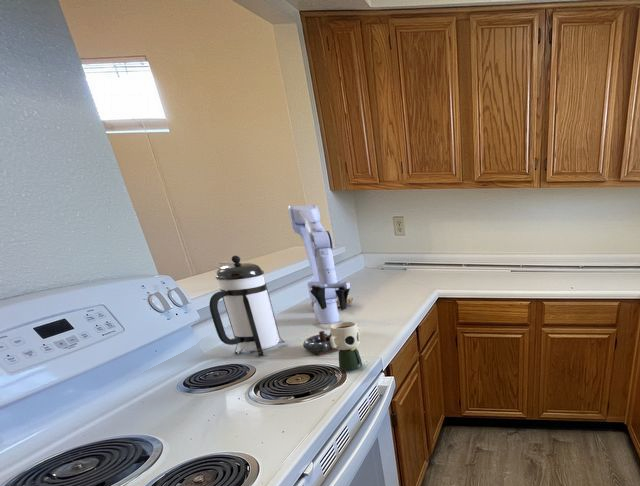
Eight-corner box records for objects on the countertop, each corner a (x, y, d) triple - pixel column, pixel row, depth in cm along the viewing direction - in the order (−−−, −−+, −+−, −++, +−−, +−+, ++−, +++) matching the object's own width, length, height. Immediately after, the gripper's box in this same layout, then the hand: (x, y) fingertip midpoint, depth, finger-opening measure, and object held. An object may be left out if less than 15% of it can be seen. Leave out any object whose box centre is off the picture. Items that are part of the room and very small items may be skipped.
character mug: (348, 377, 114) (339, 332, 108) (328, 373, 116) (318, 329, 111) (373, 363, 123) (366, 320, 117) (354, 360, 125) (346, 318, 120)
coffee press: (234, 346, 139) (206, 255, 127) (287, 339, 145) (264, 250, 133) (226, 364, 125) (193, 262, 113) (285, 355, 130) (259, 257, 118)
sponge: (339, 305, 193) (299, 306, 176) (341, 289, 190) (301, 288, 173) (358, 314, 187) (318, 316, 170) (360, 297, 184) (320, 297, 168)
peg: (307, 350, 135) (303, 332, 132) (330, 343, 140) (327, 326, 138) (319, 355, 130) (315, 337, 127) (342, 348, 135) (339, 330, 133)
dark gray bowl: (297, 347, 134) (295, 339, 133) (332, 337, 142) (330, 330, 141) (316, 355, 127) (314, 347, 126) (351, 344, 135) (349, 336, 134)
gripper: (299, 271, 137) (308, 311, 143) (339, 271, 135) (346, 312, 140) (312, 267, 144) (320, 306, 149) (350, 267, 141) (357, 307, 146)
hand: (333, 308), depth 145 cm, fingers open, 7 cm apart
